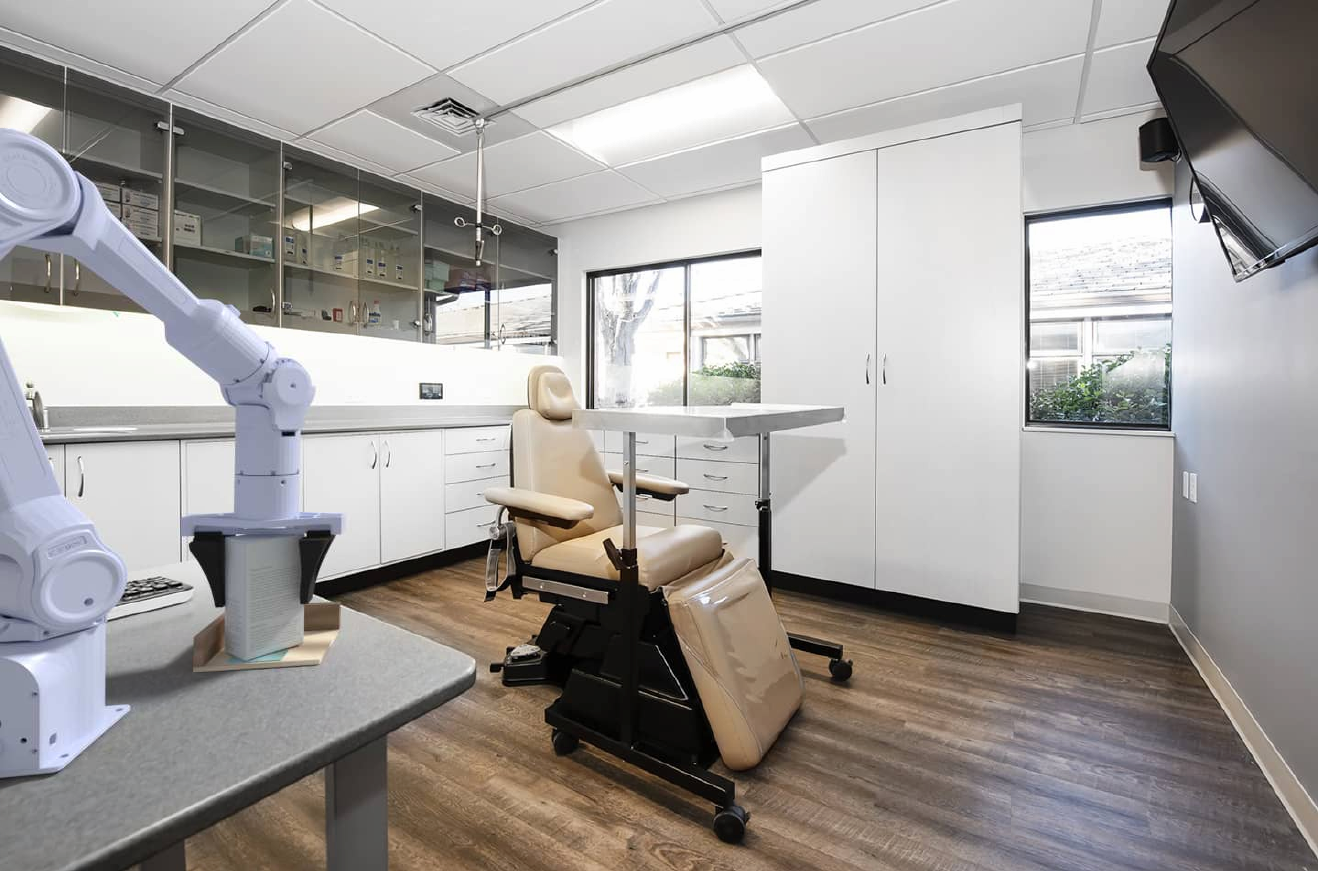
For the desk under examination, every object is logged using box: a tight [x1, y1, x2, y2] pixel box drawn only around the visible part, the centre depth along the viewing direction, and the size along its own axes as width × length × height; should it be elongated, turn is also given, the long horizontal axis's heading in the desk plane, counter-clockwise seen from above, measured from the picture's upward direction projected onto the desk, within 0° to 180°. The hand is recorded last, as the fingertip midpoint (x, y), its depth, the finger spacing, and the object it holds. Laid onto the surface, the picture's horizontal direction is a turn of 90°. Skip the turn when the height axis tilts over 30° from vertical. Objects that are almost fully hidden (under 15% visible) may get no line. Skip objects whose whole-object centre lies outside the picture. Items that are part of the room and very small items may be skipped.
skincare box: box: [224, 534, 306, 661], centre depth 65 cm, size 6×4×12 cm
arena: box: [192, 601, 342, 673], centre depth 66 cm, size 10×11×4 cm
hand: (265, 602), depth 65 cm, fingers open, 7 cm apart
